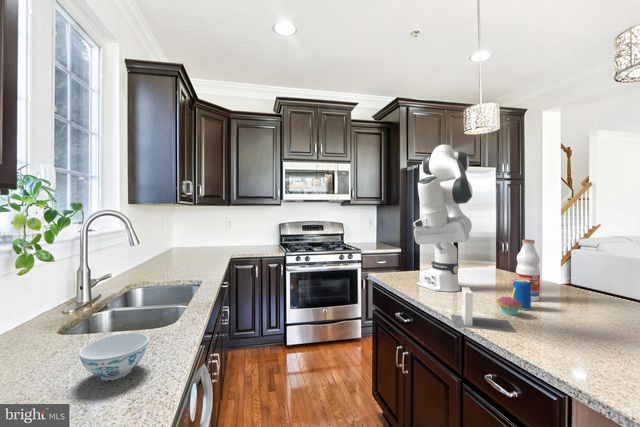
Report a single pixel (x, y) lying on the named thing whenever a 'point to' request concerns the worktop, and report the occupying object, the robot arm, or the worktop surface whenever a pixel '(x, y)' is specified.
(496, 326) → the mat
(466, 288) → the tile
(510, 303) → the cupcake
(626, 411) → the worktop surface
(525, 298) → the beverage can
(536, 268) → the fruit juice
